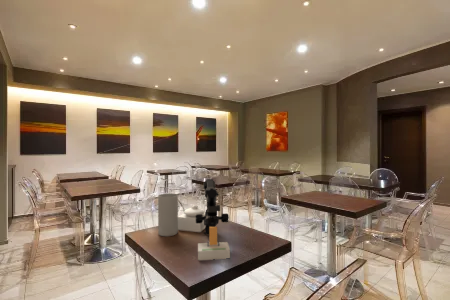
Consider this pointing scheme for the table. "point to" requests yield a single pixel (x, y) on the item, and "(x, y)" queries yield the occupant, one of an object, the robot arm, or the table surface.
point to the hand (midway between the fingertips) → (212, 232)
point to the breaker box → (213, 251)
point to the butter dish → (191, 220)
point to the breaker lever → (213, 235)
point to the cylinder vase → (167, 214)
